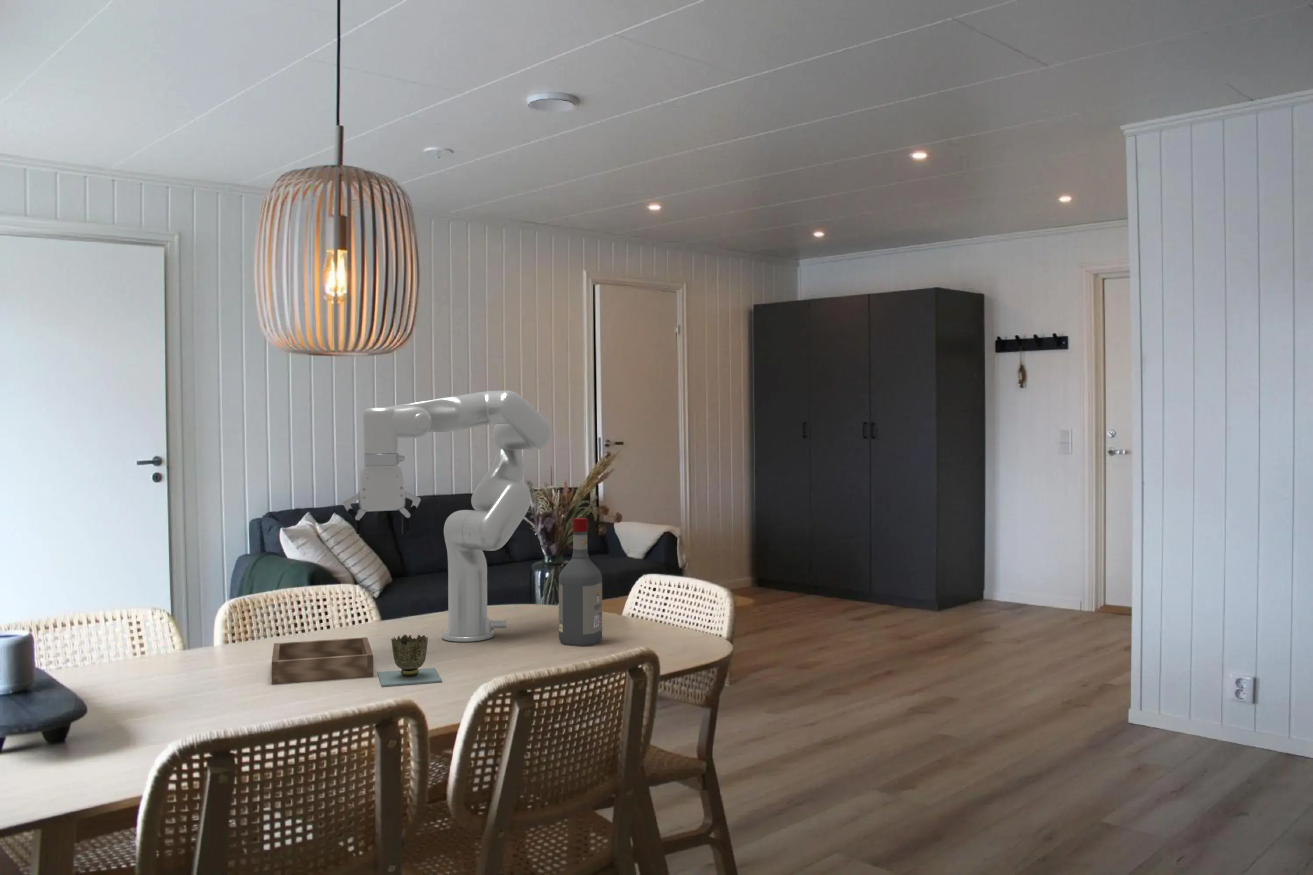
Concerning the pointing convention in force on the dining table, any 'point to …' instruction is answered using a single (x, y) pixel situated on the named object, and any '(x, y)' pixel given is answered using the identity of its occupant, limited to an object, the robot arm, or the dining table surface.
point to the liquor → (580, 594)
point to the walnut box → (321, 660)
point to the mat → (409, 678)
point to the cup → (409, 653)
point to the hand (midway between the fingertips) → (382, 535)
